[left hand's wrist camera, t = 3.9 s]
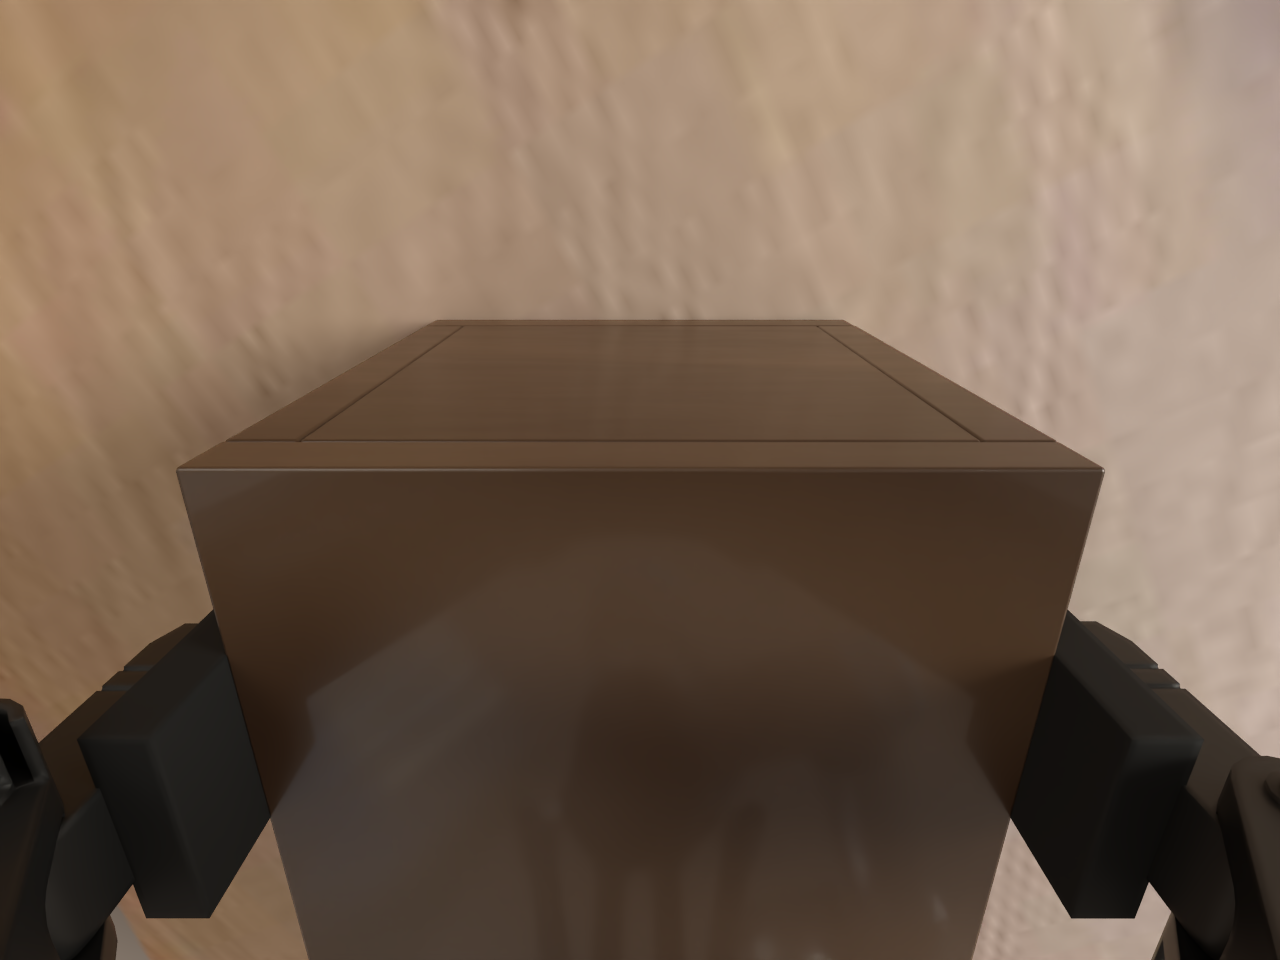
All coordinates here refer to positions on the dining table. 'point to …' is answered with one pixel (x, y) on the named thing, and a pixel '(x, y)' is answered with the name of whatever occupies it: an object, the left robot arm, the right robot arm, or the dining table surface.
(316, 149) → the dining table surface
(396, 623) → the cabinet
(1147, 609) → the dining table surface
